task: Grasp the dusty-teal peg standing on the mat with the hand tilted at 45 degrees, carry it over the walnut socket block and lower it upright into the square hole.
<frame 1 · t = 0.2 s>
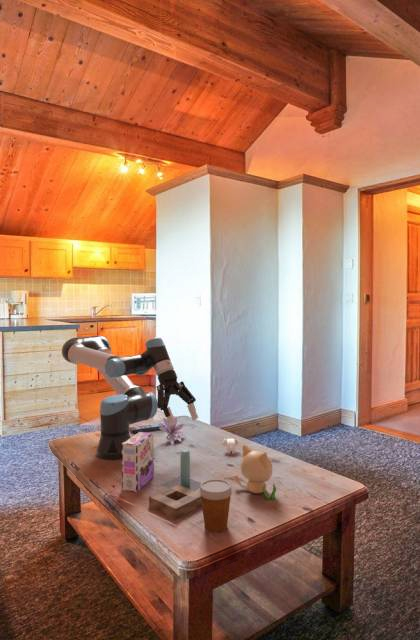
hand: (184, 421, 173), 16 cm above the table, tool tilted 35°, fingers open, 13 cm apart
candy box: (138, 484, 154), on the table
kitten: (257, 492, 147), on the table
mat: (183, 485, 152), on the table
disposable coffee cup: (215, 527, 125), on the table
elephant figurine: (230, 452, 184), on the table
peg: (185, 485, 151), resting on mat
water lily: (174, 441, 200), on the table
hole block: (176, 506, 137), on the table
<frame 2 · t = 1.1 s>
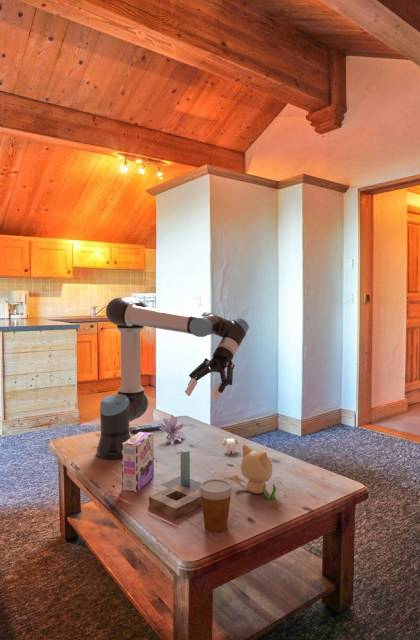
hand: (200, 396, 163), 28 cm above the table, tool tilted 45°, fingers open, 13 cm apart
nothing on the table moved.
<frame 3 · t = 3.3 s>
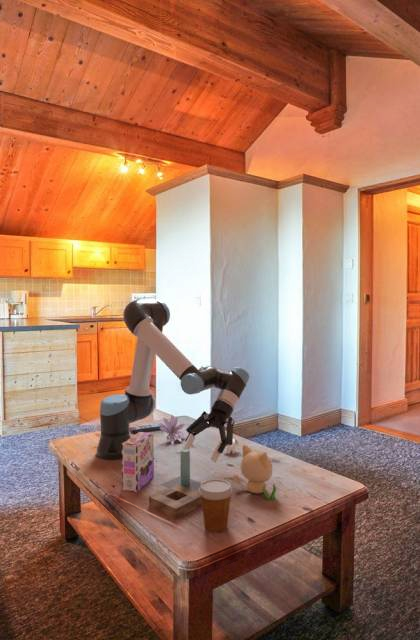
hand: (198, 456, 154), 10 cm above the table, tool tilted 45°, fingers open, 13 cm apart
nothing on the table moved.
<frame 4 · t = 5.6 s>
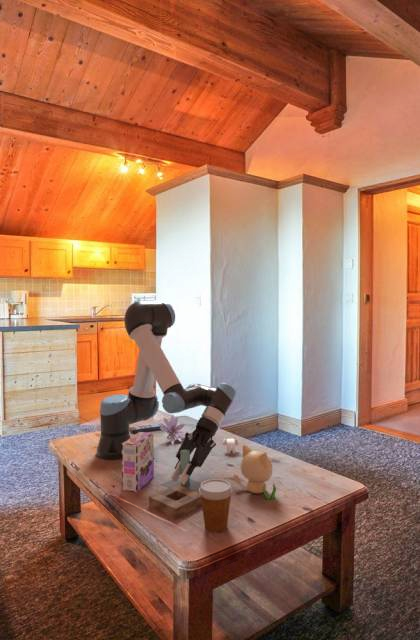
hand: (177, 481, 148), 3 cm above the table, tool tilted 45°, fingers closed on peg, 3 cm apart
peg: (185, 485, 151), resting on mat, touching gripper
everything else where it was.
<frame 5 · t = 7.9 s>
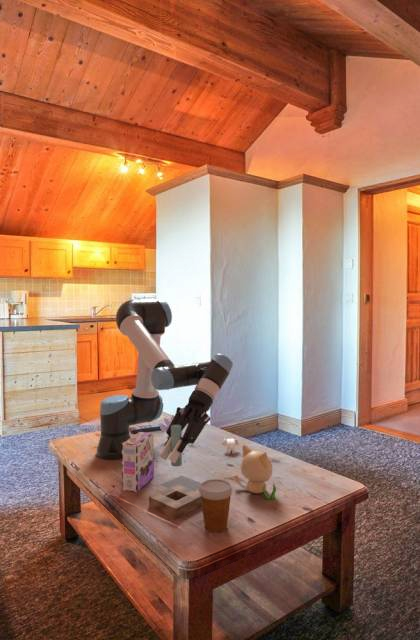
hand: (167, 459, 133), 16 cm above the table, tool tilted 45°, fingers closed on peg, 3 cm apart
peg: (176, 464, 136), point 13 cm above the table, touching gripper
everything else where it was.
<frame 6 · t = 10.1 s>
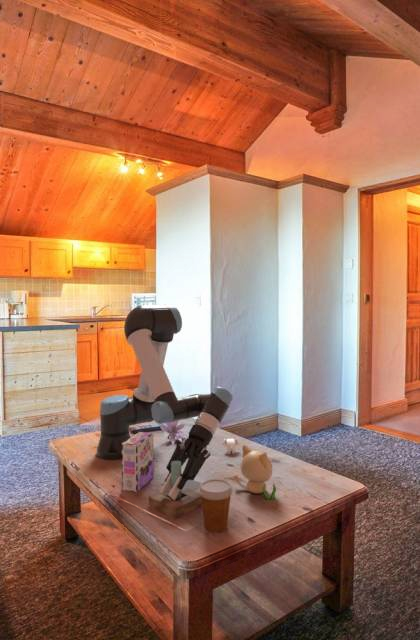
hand: (167, 495, 134), 5 cm above the table, tool tilted 45°, fingers closed on hole block, peg, 3 cm apart
peg: (176, 500, 137), point 2 cm above the table, touching gripper
everything else where it was.
when the fingers open (5 cm above the table, at t = 10.2 s): peg drops 2 cm, resting in hole block.
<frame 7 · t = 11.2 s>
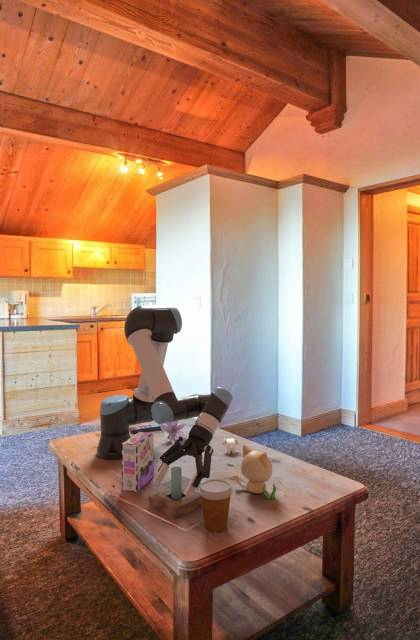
hand: (170, 489, 135), 6 cm above the table, tool tilted 45°, fingers open, 13 cm apart
peg: (176, 506, 137), resting in hole block
everything else where it was.
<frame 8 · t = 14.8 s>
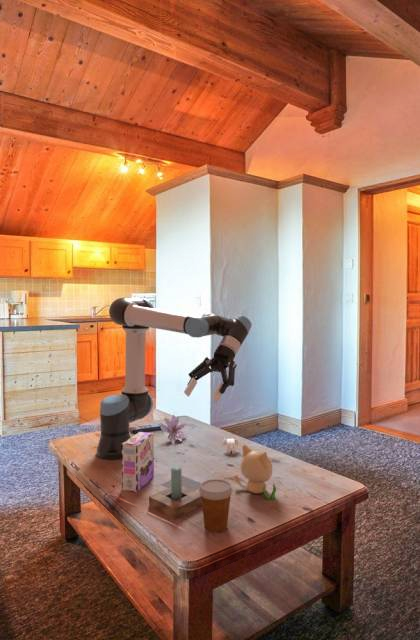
hand: (200, 397, 155), 30 cm above the table, tool tilted 45°, fingers open, 13 cm apart
nothing on the table moved.
at the end: peg 0.0 cm off-centre on the hole block, point 0.0 cm above the hole block's base; peg tilted 0°; the gripper is holding nothing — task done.
